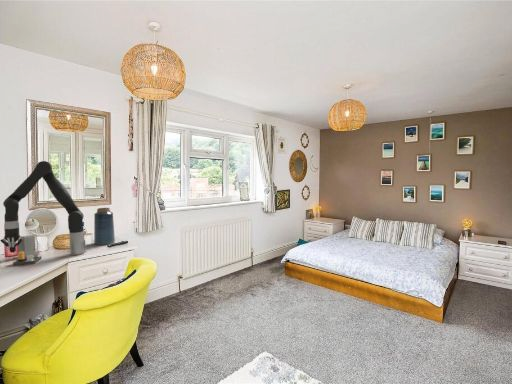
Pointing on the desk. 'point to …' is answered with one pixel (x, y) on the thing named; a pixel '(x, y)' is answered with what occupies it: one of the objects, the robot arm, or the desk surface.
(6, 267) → the desk surface
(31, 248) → the skincare box
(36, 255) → the panel
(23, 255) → the orange rectangular block
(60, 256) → the desk surface
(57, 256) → the desk surface
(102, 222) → the blue lidded jar
